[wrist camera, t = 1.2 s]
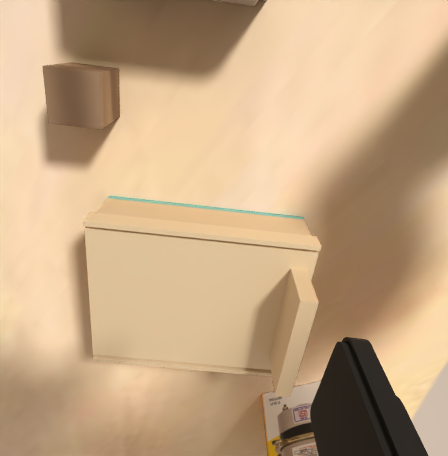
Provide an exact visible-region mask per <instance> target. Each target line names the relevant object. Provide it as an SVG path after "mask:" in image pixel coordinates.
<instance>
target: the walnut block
mask: <svg viewBox="0 0 448 456" xmlns="http://www.w3.org/2000/svg"><path fill="white" fill-rule="evenodd" d="M43 75H44V85H45V94H46V104H47V114H48V123H51V124H60V125H68V126H77V127H85V128H94V129H103V128H104V127H106V126H107V125H109V124H110V123H112V122H113V121H115V120H116V119H118V118H119V117H120V97H119V69H118V68H110V67H102V66H94V65H87V64H79V63H63V64H55V65H46V66H43Z"/></svg>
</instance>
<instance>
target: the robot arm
mask: <svg viewBox="0 0 448 456" xmlns="http://www.w3.org/2000/svg"><path fill="white" fill-rule="evenodd" d="M310 419H311V424H312V429H313V433H314V438H315V442H316V447H317V451H318V456H428V454H427V452H426V450H425V448H424V446H423V444H422V442H421V440H420V437H419V435H418V434H417V431H416V430H415V428H414V425H413V423H412V421H411V419H410V417H409V415H408V413H407V411H406V409H405V407H404V405H403V403H402V402H401V400H400V399H399V398H398V397H397V396H396V395H395V393H394V391H393V389H392V387H391V385H390V383H389V381H388V379H387V377H386V374H385V372H384V370H383V368H382V366H381V364H380V362H379V360H378V358H377V356H376V354H375V352H374V349H373V347H372V345H371V344H370V342H369V341H368V340H365V339H357V338H349V337H345V338H344V339H343V341H342V342H337V343H336V345H335V348H334V350H333V353H332V355H331V358H330V360H329V363H328V365H327V368H326V370H325V373H324V375H323V378H322V380H321V382H320V385H319V387H318V390H317V392H316V395H315V397H314V400H313V402H312V405H311V409H310Z"/></svg>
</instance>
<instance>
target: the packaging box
mask: <svg viewBox="0 0 448 456" xmlns="http://www.w3.org/2000/svg"><path fill="white" fill-rule="evenodd" d="M320 382H321V381H318V382H314V383H309V384H305V385H300V386H296V387H294V388H293V391H292V394H291V397H280V396H275V394H274V391H273V392H269V393H265V394H261V396H262V405H263V415H264V425H265V435H266V445H267V455H268V456H318V451H317V447H316V442H315V438H314V433H313V429H312V424H311V419H310V409H311V405H312V402H313V400H314V397H315V395H316V392H317V390H318V387H319V385H320Z"/></svg>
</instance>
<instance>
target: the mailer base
mask: <svg viewBox="0 0 448 456" xmlns="http://www.w3.org/2000/svg"><path fill="white" fill-rule="evenodd" d="M97 213H104V214H113V215H123V216H132V217H141V218H151V219H160V220H169V221H179V222H188V223H197V224H207V225H216V226H225V227H235V228H244V229H253V230H263V231H272V232H281V233H291V234H300V235H309V236H311V234H310V232H309V230H308V227H307V225H306V223H305V221H304V218H303V217H298V216H289V215H280V214H271V213H261V212H252V211H243V210H234V209H225V208H216V207H207V206H198V205H189V204H179V203H170V202H161V201H152V200H143V199H134V198H125V197H116V196H109V197H108V199H107V200H106V201H105V202H104V204H103V205H102V206H101V208H100V209H99V210H98V212H97Z"/></svg>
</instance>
